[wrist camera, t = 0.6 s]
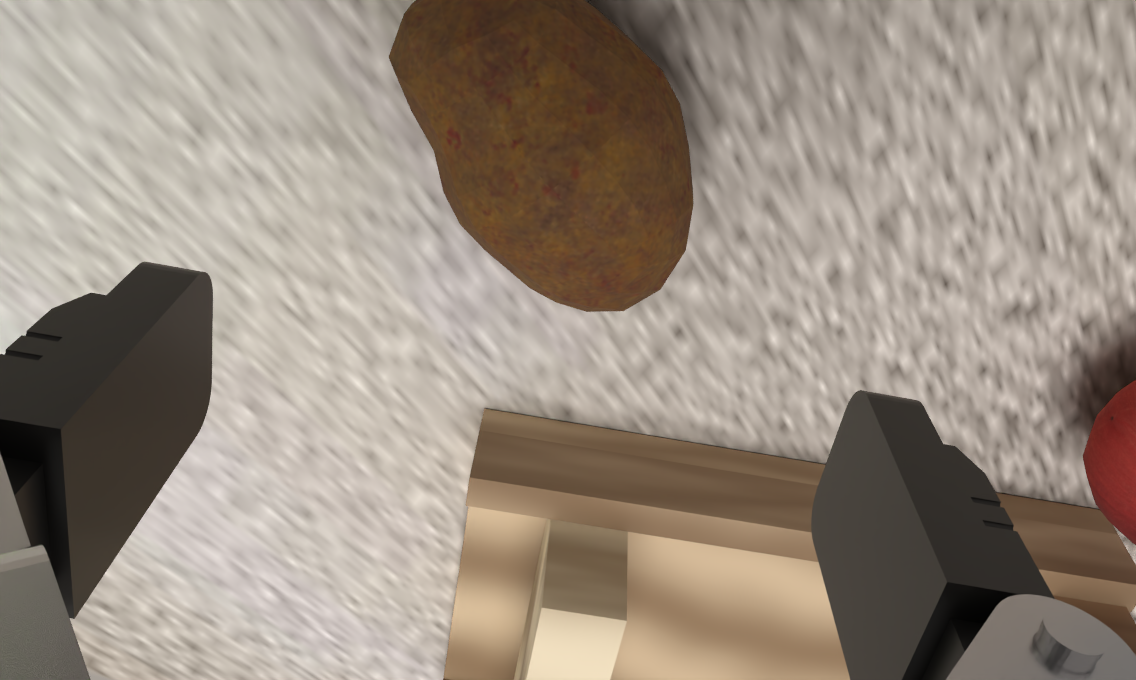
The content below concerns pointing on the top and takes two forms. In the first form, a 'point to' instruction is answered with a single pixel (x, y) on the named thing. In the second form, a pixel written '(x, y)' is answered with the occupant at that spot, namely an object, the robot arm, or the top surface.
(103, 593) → the top surface
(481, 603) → the vise base
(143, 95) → the top surface
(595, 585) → the jaw
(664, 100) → the potato
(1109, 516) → the onion
